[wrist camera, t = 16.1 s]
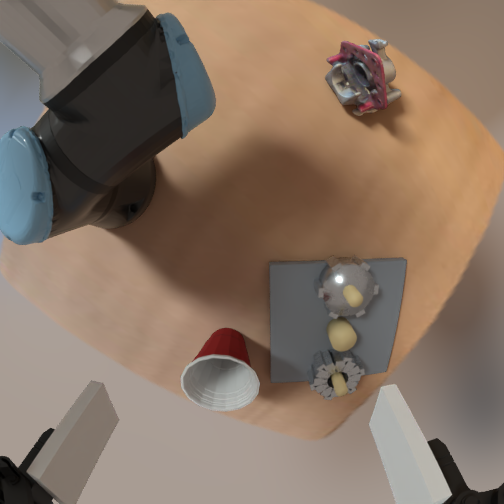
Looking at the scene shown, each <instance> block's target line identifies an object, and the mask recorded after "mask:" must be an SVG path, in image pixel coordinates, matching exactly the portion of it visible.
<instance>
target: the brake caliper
mask: <svg viewBox="0 0 504 504" xmlns="http://www.w3.org/2000/svg"><path fill="white" fill-rule="evenodd" d="M368 42H369V44H370V47H371V49H372V51H373V52H371V51H370V48H369V46H367V45H359V46H358V45H355V44H353V43H350V42H348V41H343V42H341V49H340V53H339V54H337V55H335V56H332V57H329V58H327V62H328V63H330V64H331V65H332V66H333V68H332V69H331V71H330V72H329V73H328V74H327V75H326V76H325V79H326V81H327V82H328V84H329V85H330V87H331V88H332V89H333V91H334V92H335V93H336V95H337V97H338V99H339V101H340V103H341V104H342V105H350V104H355V105H357V108H356V109H354V110H353V111H352V112H353V113H354V114H355V115H358V116H362V115H363V114H364V113H374V112H376V111H377V110H379V109H386V108H387V106H388V104H389V103H391V102H393V101H394V100H397V99H398V98H399V97H401V95H402V94H401V91H400V90H399V89H390V88H389V86H388V83H390V82H392V81H393V80H394V79H395V76H396V71H395V67H394V65H393V63H392V61H391V60H390V59H389V58H388V57H387V56H386V54H385V48H384V47H386V46H387V45H388V41H385V42H384V41H383V40H381V39H375V40H369V41H368Z"/></svg>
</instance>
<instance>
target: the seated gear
mask: <svg viewBox="0 0 504 504" xmlns="http://www.w3.org/2000/svg"><path fill="white" fill-rule="evenodd" d="M326 262H327V265H326V266H325V267H324V268H323V270H322V271H321V273H320V276H319V278H315V279H314V289H315V291H316V294H317V296H318V298H323V300H324V303H323V304H324V307H325V309H326V311H327V313H328V315H329V316H331V317H333V318H335V319H337V318H338V316H339V315H340V316H351V315H354V314H355V315H356V316H357V318H358V317H359V316H361V315H363V314H364V313H365V311H364V308H366V306H367V305H368V304H369V303H370V301H371V299H372V297H373V295H374V294H378V289H379V285H378V284H377V283H376V282H375V281H374V280H373V278H372V276H371V274H370V273H369V272H368V270H369V268H370V266H369V265H368V264H367V263H366V262H365V261H363V260H362V259H361V258H359V257H358V256H356V255H353V257H352V259H351V258H346V257H343V258H336V257H335V256H334V255H333V256H331V257H329V258H328V259H326ZM348 285H353V286H355V287H356V289H357V290H358V291H359V292H360V294H361V295H362V296H363V302H362V304H361V305H360V306H358V307H352V306H350V304H349V303H348V301H347V300H346V298H345V297H344V295H343V290H344V288H345V287H346V286H348Z"/></svg>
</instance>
